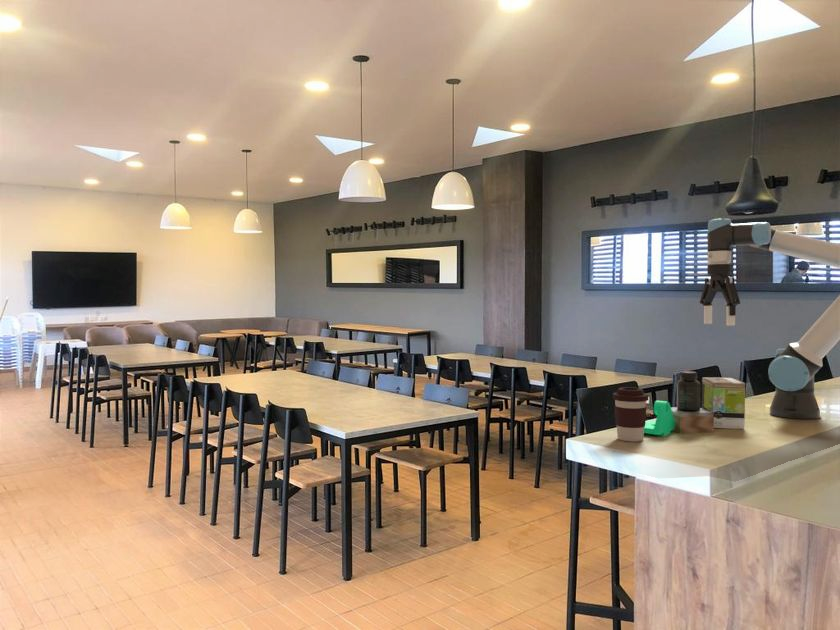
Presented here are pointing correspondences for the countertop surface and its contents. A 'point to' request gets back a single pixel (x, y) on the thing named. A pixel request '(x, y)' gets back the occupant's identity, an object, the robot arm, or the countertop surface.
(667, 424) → the camera mount
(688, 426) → the walnut stand
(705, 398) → the tea box
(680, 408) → the supplement bottle
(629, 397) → the coffee cup
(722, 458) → the countertop surface
